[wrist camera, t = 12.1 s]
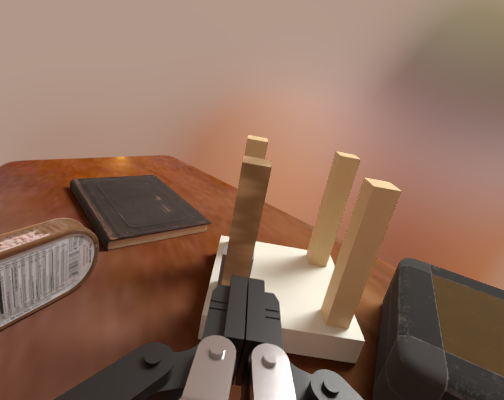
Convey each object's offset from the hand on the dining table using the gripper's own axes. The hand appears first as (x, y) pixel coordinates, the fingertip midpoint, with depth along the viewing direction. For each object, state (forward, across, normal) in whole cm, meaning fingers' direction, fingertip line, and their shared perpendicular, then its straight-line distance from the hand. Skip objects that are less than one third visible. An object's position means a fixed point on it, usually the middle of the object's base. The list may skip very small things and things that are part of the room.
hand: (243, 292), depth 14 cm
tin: (+12, +19, +16) cm, 27 cm away
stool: (+19, -6, +16) cm, 25 cm away
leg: (+14, 0, +13) cm, 19 cm away
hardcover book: (+37, +18, +17) cm, 44 cm away
